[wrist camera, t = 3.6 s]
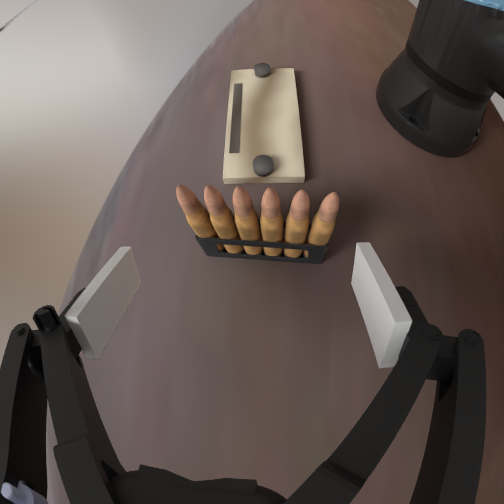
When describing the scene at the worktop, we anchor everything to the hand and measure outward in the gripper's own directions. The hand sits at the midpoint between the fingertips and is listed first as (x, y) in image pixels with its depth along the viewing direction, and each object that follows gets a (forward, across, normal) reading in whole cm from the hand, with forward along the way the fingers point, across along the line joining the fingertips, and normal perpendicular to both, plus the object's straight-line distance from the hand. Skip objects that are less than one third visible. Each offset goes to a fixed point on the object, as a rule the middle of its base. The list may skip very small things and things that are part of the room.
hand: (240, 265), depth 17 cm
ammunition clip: (+10, +1, -5) cm, 11 cm away
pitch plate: (+21, +1, +7) cm, 22 cm away
